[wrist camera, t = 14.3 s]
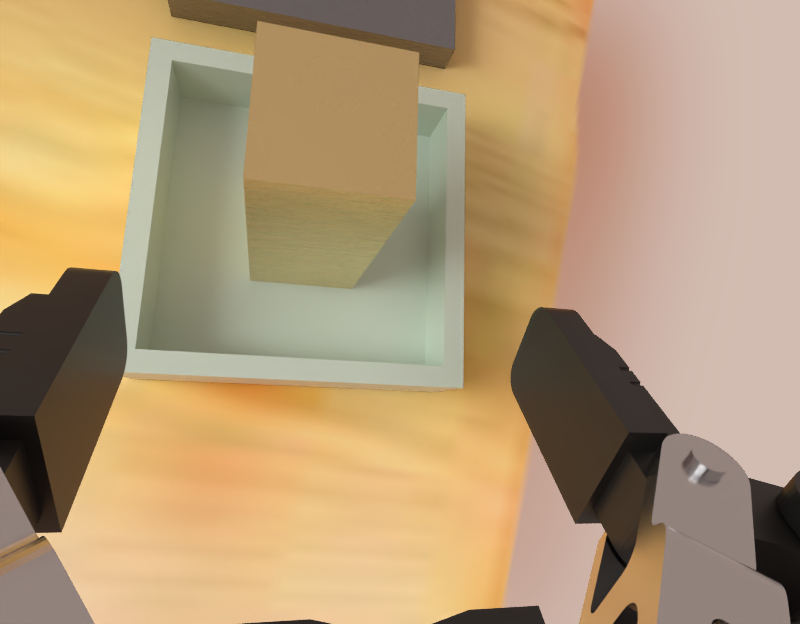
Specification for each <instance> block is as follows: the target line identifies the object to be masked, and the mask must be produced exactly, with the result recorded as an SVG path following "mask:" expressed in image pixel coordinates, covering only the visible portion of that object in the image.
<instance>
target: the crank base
mask: <svg viewBox="0 0 800 624" xmlns="http://www.w3.org/2000/svg"><path fill="white" fill-rule="evenodd" d="M168 3H169V7H170V12H171V16H175V17H180V18H185V19H190V20H195V21H200V22H206V23H211V24H216V25H221V26H226V27H232V28H237V29H242V30H247V31H252V32H256V30H257V21H261V22H266V23H271V24H276V25H281V26H286V27H291V28H296V29H302V30H307V31H312V32H317V33H322V34H327V35H332V36H337V37H342V38H348V39H353V40H358V41H363V42H368V43H373V44H378V45H383V46H389V47H394V48H399V49H404V50H409V51H414V52H419V64H424V65H429V66H434V67H439V68H444V69H445V67H446V65H447V63H448V61H449V59H450V58H451V56H452V54H453V52H454V50H455V0H168Z"/></svg>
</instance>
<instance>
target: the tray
mask: <svg viewBox="0 0 800 624" xmlns="http://www.w3.org/2000/svg"><path fill="white" fill-rule="evenodd" d="M253 63H254V56H252V55H246V54H241V53H235V52H230V51H224V50H219V49H213V48H208V47H202V46H197V45H191V44H186V43H181V42H175V41H170V40H164V39H159V38H153V37H152V38H151V45H150V53H149V60H148V67H147V75H146V82H145V89H144V97H143V104H142V111H141V119H140V126H139V133H138V140H137V148H136V155H135V162H134V170H133V177H132V184H131V192H130V199H129V206H128V214H127V221H126V228H125V236H124V243H123V250H122V257H121V265H120V272H119V275H120V278H121V283H122V292H123V302H124V313H125V323H126V334H127V360H126V366H125V371H124V374H123V377H126V378H130V379H152V380H174V381H197V382H220V383H242V384H265V385H287V386H310V387H332V388H355V389H377V390H400V391H422V392H440V391H447V390H454V389H461V388H463V371H464V223H465V94H460V93H455V92H449V91H444V90H438V89H433V88H427V87H422V86H418V128H417V172H416V201H415V202H414V203H413V205H412V206H411V207H410V209H409V210H408V212H407V213H406V214H405V216H404V217H403V219H402V220H401V221H400V223H399V224H398V226H397V227H396V228H395V230H394V231H393V232H392V234H391V235H390V237H389V238H388V239H387V241H386V242H385V244H384V245H383V246H382V248H381V249H380V251H379V252H378V253H377V255H376V256H375V257H374V259H373V260H372V262H371V263H370V264H369V266H368V267H367V269H366V270H365V271H364V273H363V274H362V276H361V277H360V278H359V280H358V281H357V282H356V284H355V285H354V287H353V288H352V289H345V288H333V287H321V286H309V285H298V284H286V283H274V282H263V281H251V280H250V272H249V257H248V242H247V228H246V213H245V198H244V184H243V174H244V162H245V151H246V140H247V129H248V118H249V107H250V96H251V85H252V74H253Z"/></svg>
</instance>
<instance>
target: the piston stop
mask: <svg viewBox="0 0 800 624" xmlns="http://www.w3.org/2000/svg"><path fill="white" fill-rule="evenodd" d="M418 85H419V52H414V51H409V50H404V49H399V48H394V47H389V46H383V45H378V44H373V43H368V42H363V41H358V40H353V39H348V38H342V37H337V36H332V35H327V34H322V33H317V32H312V31H307V30H302V29H296V28H291V27H286V26H281V25H276V24H271V23H266V22H261V21H257V30H256V41H255V52H254V63H253V74H252V85H251V96H250V107H249V118H248V129H247V140H246V151H245V162H244V174H243V184H244V198H245V213H246V228H247V242H248V257H249V272H250V280H251V281H263V282H274V283H286V284H298V285H309V286H321V287H333V288H345V289H352V288H353V287H354V285H355V284H356V282H357V281H358V280H359V278H360V277H361V276H362V274H363V273H364V271H365V270H366V269H367V267H368V266H369V264H370V263H371V262H372V260H373V259H374V257H375V256H376V255H377V253H378V252H379V251H380V249H381V248H382V246H383V245H384V244H385V242H386V241H387V239H388V238H389V237H390V235H391V234H392V232H393V231H394V230H395V228H396V227H397V226H398V224H399V223H400V221H401V220H402V219H403V217H404V216H405V214H406V213H407V212H408V210H409V209H410V207H411V206H412V205H413V203H414V202H415V201H416V172H417V128H418Z"/></svg>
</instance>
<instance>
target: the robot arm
mask: <svg viewBox="0 0 800 624" xmlns="http://www.w3.org/2000/svg"><path fill="white" fill-rule="evenodd" d="M126 360H127V334H126V323H125V313H124V302H123V292H122V283H121V278H120V275H119V273H118V272H117V271H107V270H95V269H83V268H68V269H67V270H66V271H65V272H64V274H63V275H62V276H61V278H60V279H59V281H58V282H57V284H56V285H55V287H54V288H53V289H52V291H51V292H50V294H49V295H47V294H33V293H31V294H30V295H28V296H26V297H24V298H23V299H21V300H19V301H18V302H16V303H14V304H13V305H11V306H9V307H8V308H6V309H4V310H3V311H2V312H1V314H0V624H94V622H93V620H92V618H91V616H90V615H89V613H88V611H87V609H86V607H85V605H84V604H83V602H82V600H81V598H80V596H79V594H78V593H77V591H76V589H75V587H74V585H73V583H72V582H71V580H70V578H69V576H68V574H67V572H66V571H65V569H64V567H63V565H62V563H61V561H60V560H59V558H58V556H57V554H56V552H55V551H54V549H53V547H52V546H51V544H50V543H49V541H48V540H47V539H46V538H45V537H44V536H42V537H40V538H39V537H38V536H37V534H36V533H50V532H62V529H63V527H64V524H65V522H66V519H67V517H68V514H69V512H70V509H71V507H72V504H73V501H74V499H75V496H76V494H77V491H78V489H79V486H80V484H81V481H82V479H83V476H84V474H85V471H86V469H87V466H88V463H89V461H90V458H91V456H92V453H93V451H94V448H95V446H96V443H97V441H98V438H99V436H100V433H101V431H102V428H103V426H104V423H105V420H106V418H107V415H108V413H109V410H110V408H111V405H112V403H113V400H114V398H115V395H116V393H117V390H118V388H119V385H120V382H121V380H122V377H123V374H124V371H125V366H126ZM511 386H512V391H513V394H514V396H515V398H516V400H517V402H518V404H519V406H520V409H521V411H522V413H523V415H524V417H525V419H526V421H527V423H528V425H529V427H530V430H531V432H532V434H533V436H534V438H535V440H536V442H537V444H538V446H539V448H540V451H541V453H542V455H543V457H544V459H545V461H546V463H547V465H548V467H549V469H550V472H551V474H552V476H553V478H554V480H555V482H556V484H557V486H558V488H559V490H560V493H561V495H562V497H563V499H564V501H565V503H566V505H567V507H568V509H569V511H570V513H571V516H572V518H573V520H574V522H575V524H577V523H579V524H581V523H601V524H602V526H603V528H604V530H605V532H604V534H603V535H602V537H601V538H600V540H599V543H598V545H597V550H596V554H595V558H594V562H593V567H592V571H591V575H590V579H589V583H588V588H587V592H586V597H585V601H584V605H583V609H582V613H581V617H580V622H579V624H800V471H799V472H797V473H796V475H795V476H794V477H793V478H792V479H791V480H790V481H789V483H788V484H787V485H786V486H785V487H784V488H783V487H779V486H776V485H772V484H768V483H765V482H761V481H758V480H754V479H751V478H748V477H747V475H746V473H745V471H744V470H743V469H742V467H741V466H740V465H739V464H738V463H737V462H736V461H735V460H734V459H733V458H732V457H731V456H730V455H729V454H727V453H726V452H725V451H723V450H722V449H721V448H719V447H718V446H716V445H714V444H713V443H710V442H709V441H706V440H704V439H702V438H699V437H696V436H693V435H688V434H680V433H679V432H678V430H677V429H676V428H675V426H674V425H673V424H672V423H671V421H670V420H669V419H668V417H667V416H666V415H665V413H664V412H663V411H662V410H661V408H660V407H659V406H658V404H657V403H656V402H655V401H654V399H653V398H652V397H651V395H650V394H649V393H648V391H647V390H646V389H645V388H644V386H640V381H639V380H638V379H637V377H636V376H635V375H634V374H633V372H632V371H629V367H628V366H627V364H626V363H625V362H624V361H623V359H622V358H621V357H620V355H619V354H618V353H617V352H616V350H615V349H613V348H612V347H611V346H609V345H608V344H607V343H605V342H604V341H603V340H602V339H600V338H599V337H597V336H596V335H594V334H593V333H592V331H591V330H590V328H589V327H588V326H587V324H586V323H585V322H584V320H583V319H582V318H581V316H580V315H579V314H578V313H577V312H576V311H574V310H568V309H555V308H543V307H540V308H538V309H536V310H535V311H534V313H533V314H532V316H531V319H530V321H529V324H528V326H527V329H526V332H525V334H524V337H523V339H522V342H521V344H520V347H519V350H518V352H517V355H516V357H515V360H514V362H513V365H512V370H511ZM244 624H330V623H325V622H320V621H315V620H311V619H310V620H294V621H277V622H260V623H244ZM433 624H545V623H544V620H543V617H542V614H541V611H540V609H539V606H527V607H510V608H493V609H477V610H468V611H465V612H463V613H460V614H457V615H455V616H452V617H449V618H447V619H444V620H441V621H439V622H436V623H433Z"/></svg>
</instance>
